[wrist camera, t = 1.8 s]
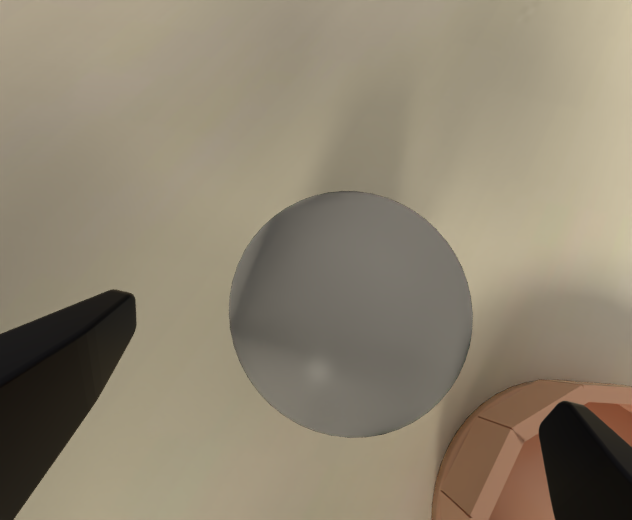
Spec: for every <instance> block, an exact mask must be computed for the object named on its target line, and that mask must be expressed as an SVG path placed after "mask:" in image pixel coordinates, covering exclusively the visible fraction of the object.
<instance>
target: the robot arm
mask: <svg viewBox="0 0 632 520" xmlns="http://www.w3.org/2000/svg"><path fill="white" fill-rule="evenodd" d="M135 329H136V304H135V297H134V295H133V294H131V293H128V292H124V291H120V290H115V289H113V290H109V291H106V292H104V293H101V294H99V295H96V296H94V297H91V298H89V299H86V300H84V301H81V302H79V303H77V304H74V305H72V306H69V307H67V308H64V309H62V310H59V311H57V312H54V313H52V314H49V315H47V316H44V317H42V318H39V319H37V320H34V321H32V322H29V323H27V324H24V325H22V326H19V327H17V328H14V329H12V330H9V331H7V332H4V333H2V334H0V520H14V518H15V517H16V515H17V514H18V513H19V511H20V510H21V508H22V507H23V505H24V504H25V503H26V501H27V500H28V498H29V497H30V495H31V494H32V493H33V491H34V490H35V488H36V487H37V485H38V484H39V483H40V481H41V480H42V478H43V477H44V475H45V474H46V473H47V471H48V470H49V468H50V467H51V465H52V464H53V463H54V461H55V460H56V458H57V457H58V455H59V454H60V453H61V451H62V450H63V448H64V447H65V446H66V444H67V443H68V441H69V440H70V438H71V437H72V436H73V434H74V433H75V431H76V430H77V428H78V427H79V426H80V424H81V423H82V421H83V420H84V418H85V417H86V416H87V414H88V413H89V411H90V410H91V408H92V407H93V405H94V404H95V402H96V401H97V399H98V397H99V396H100V394H101V392H102V391H103V389H104V387H105V385H106V383H107V382H108V380H109V378H110V376H111V374H112V373H113V371H114V369H115V367H116V365H117V364H118V362H119V360H120V358H121V356H122V354H123V353H124V351H125V349H126V347H127V345H128V344H129V342H130V340H131V338H132V336H133V334H134V332H135ZM539 440H540V445H541V451H542V456H543V462H544V467H545V472H546V478H547V483H548V489H549V494H550V500H551V504H552V509H553V514H554V517H555V520H632V447H631V446H630V445H629V444H628V443H627V442H626V441H624V440H623V439H622V438H621V437H620V436H619V435H618V434H617V433H615V432H614V431H613V430H612V429H611V428H610V427H609V426H608V425H606V424H605V423H604V422H603V421H602V420H601V419H600V418H599V417H597V416H596V415H595V414H594V413H593V412H592V411H591V410H590V409H588V408H587V407H586V406H584V405H581V404H578V403H574V402H570V401H561V402H559V403H558V404H557V405H556V406H555V407H554V408H553V409H552V411H551V412H550V413H549V414H548V415H547V416H546V417H545V419H544V420H543V421H542V422H541V424H540V426H539Z"/></svg>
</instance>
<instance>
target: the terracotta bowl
mask: <svg viewBox="0 0 632 520" xmlns="http://www.w3.org/2000/svg"><path fill="white" fill-rule="evenodd" d="M561 401H570V402H574V403H578V404H581V405H584V406H586V407H587V408H588V409H590V410H591V411H592V412H593V413H594V414H595V415H596V416H597V417H599V418H600V419H601V420H602V421H603V422H604V423H605V424H606V425H608V426H609V427H610V428H611V429H612V430H613V431H614V432H615V433H617V434H618V435H619V436H620V437H621V438H622V439H623V440H624V441H626V442H627V443H628V444H629V445H630V446H631V447H632V386H627V385H617V384H606V383H590V382H574V381H565V380H540V379H539V380H537V381H532V382H526V383H523V384H520V385H516V386H513V387H510V388H508V389H506V390H504V391H502V392H500V393H498V394H496V395H494V396H493V397H492V398H490V399H489V400H487V401H486V402H484V403H483V404H482V405H481V406H479V407H478V408H477V409H476V410H475V411H474V412H473V413H472V414H471V415H470V416H469V417H468V418H467V420H466V421H465V422H464V423H463V425H462V426H461V427H460V428H459V430H458V431H457V433H456V435H455V436H454V438H453V440H452V441H451V443H450V445H449V446H448V449H447V451H446V453H445V456H444V458H443V460H442V463H441V466H440V469H439V473H438V476H437V480H436V484H435V490H434V496H433V502H432V520H555V517H554V514H553V509H552V504H551V500H550V494H549V489H548V483H547V478H546V472H545V467H544V462H543V456H542V451H541V445H540V440H539V426H540V424H541V422H542V421H543V420H544V419H545V417H546V416H547V415H548V414H549V413H550V412H551V411H552V409H553V408H554V407H555V406H556V405H557V404H558V403H559V402H561Z"/></svg>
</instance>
